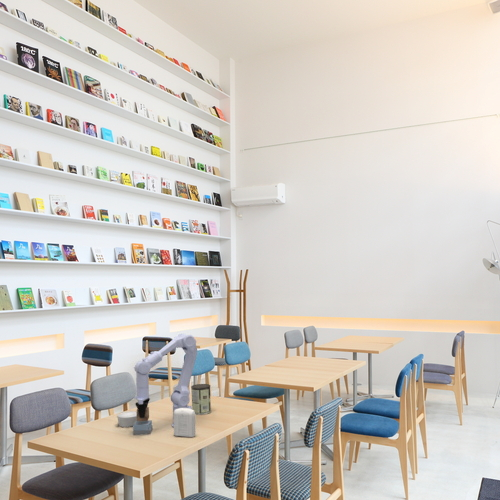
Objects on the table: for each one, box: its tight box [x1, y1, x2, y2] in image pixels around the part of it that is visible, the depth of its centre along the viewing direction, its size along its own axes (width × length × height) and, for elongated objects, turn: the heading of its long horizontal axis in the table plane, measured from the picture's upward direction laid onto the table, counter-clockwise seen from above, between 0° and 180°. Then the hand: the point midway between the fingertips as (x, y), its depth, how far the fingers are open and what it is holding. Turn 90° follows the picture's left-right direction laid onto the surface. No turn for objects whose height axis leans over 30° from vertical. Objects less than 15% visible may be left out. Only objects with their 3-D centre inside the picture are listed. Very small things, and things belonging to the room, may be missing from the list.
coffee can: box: [190, 383, 212, 416], centre depth 257 cm, size 10×10×14 cm
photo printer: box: [173, 408, 196, 438], centre depth 218 cm, size 10×4×12 cm, turn 72°
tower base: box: [132, 424, 154, 436], centre depth 225 cm, size 8×8×2 cm
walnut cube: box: [136, 406, 150, 421], centre depth 225 cm, size 5×5×5 cm
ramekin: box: [116, 410, 137, 428], centre depth 238 cm, size 11×11×5 cm
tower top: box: [132, 419, 153, 431], centre depth 225 cm, size 7×7×2 cm
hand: (142, 416), depth 225 cm, fingers closed on walnut cube, 5 cm apart
